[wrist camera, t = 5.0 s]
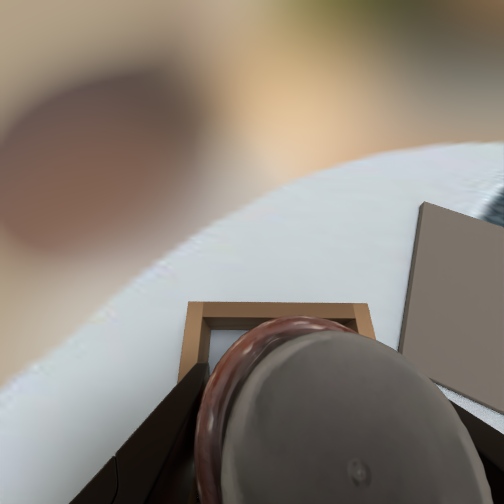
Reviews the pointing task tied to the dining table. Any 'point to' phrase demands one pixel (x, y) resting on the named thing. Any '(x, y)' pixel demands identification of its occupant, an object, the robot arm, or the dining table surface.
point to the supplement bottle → (329, 424)
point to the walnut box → (250, 316)
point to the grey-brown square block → (457, 305)
